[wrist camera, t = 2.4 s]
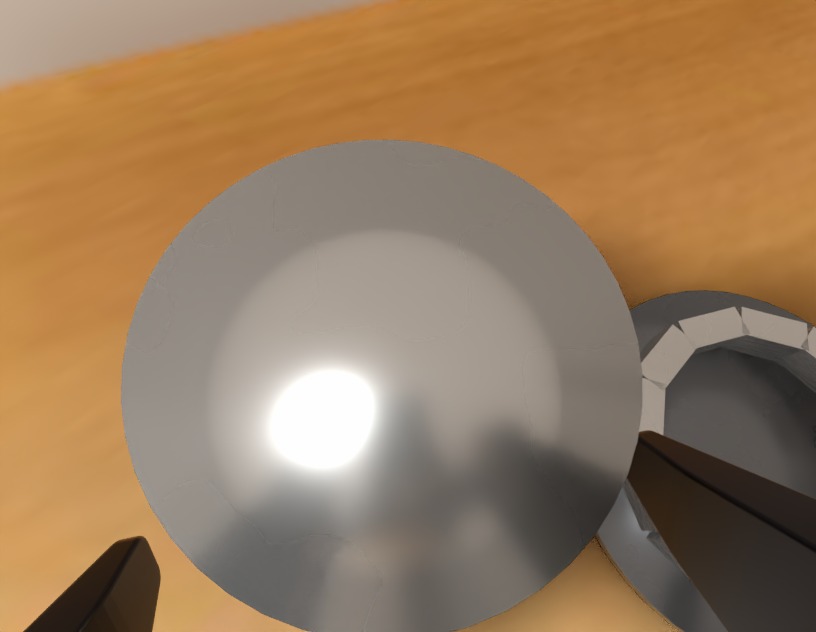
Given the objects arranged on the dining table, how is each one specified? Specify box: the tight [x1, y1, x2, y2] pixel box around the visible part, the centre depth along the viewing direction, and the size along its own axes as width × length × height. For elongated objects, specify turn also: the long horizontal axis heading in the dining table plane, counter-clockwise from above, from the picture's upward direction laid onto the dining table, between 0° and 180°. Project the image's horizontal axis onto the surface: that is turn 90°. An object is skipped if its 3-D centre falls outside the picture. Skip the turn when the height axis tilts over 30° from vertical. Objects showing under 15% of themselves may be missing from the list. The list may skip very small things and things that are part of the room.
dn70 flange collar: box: [595, 290, 816, 632], centre depth 18 cm, size 14×14×2 cm
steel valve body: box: [121, 140, 642, 632], centre depth 12 cm, size 7×7×13 cm
